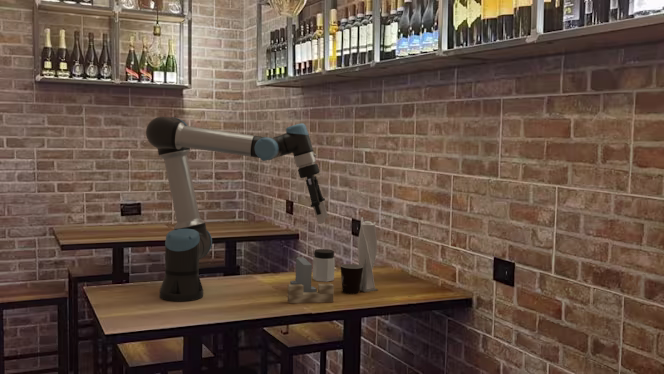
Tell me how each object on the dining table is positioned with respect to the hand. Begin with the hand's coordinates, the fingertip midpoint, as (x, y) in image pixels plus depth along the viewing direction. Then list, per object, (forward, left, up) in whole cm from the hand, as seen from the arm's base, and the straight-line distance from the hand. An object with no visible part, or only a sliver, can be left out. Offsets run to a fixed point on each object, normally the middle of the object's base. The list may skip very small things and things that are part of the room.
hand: (323, 220), depth 237 cm
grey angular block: (-6, -4, -28) cm, 29 cm away
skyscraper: (+2, +21, -28) cm, 35 cm away
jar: (-19, +17, -28) cm, 38 cm away
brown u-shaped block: (+6, -9, -28) cm, 30 cm away
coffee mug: (+2, +14, -28) cm, 31 cm away
